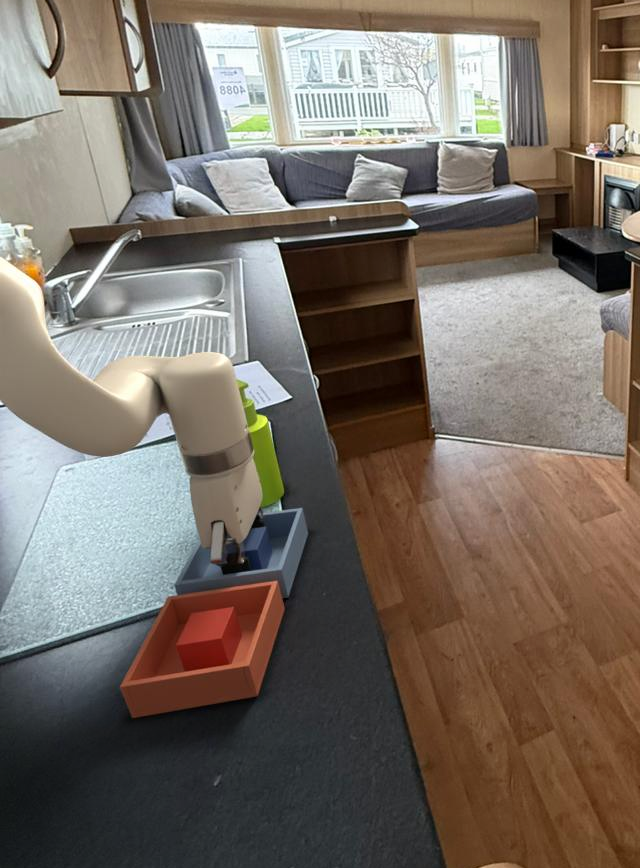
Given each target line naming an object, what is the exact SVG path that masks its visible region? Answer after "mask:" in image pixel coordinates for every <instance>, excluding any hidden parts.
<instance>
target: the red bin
mask: <svg viewBox="0 0 640 868" xmlns="http://www.w3.org/2000/svg"><path fill="white" fill-rule="evenodd" d="M230 607H234V610H235V613H236V617H237V620H238V623H239V627H240V630H241V634H242V637H241V640H240V642H239V645H238V648H237V650H236V653H235V656H234V659H233V661H232V664H230V665H224V666H218V667H212V668H206V669H200V670H194V671H188V672H185V670H184V667H183V664H182V661H181V659H180V656H179V653H178V650H177V647H176V645H177V642H178V640H179V638H180V636H181V634H182V632H183V630H184V628H185V626H186V624H187V621H188V619H189V617H190V615H191V613H197V612H203V611H210V610H217V609H223V608H230ZM285 610H286V608H285V605H284V601H283V598H282V596H281V592H280V588H279V584H278V581H273V582H265V583H258V584H251V585H244V586H237V587H230V588H224V589H217V590H210V591H203V592H196V593H189V594H182V595H177V594H176V595H170V596H167V597H166V600H165V601H164V603H163V605H162V607H161V609H160V611H159V613H158V614H157V616H156V618H155V619H154V622H153V624H152V626H151V628H150V630H149V631H148V633H147V635H146V637H145V638H144V641H143V643H142V644H141V646H140V647H139V650H138V652H137V654H136V656H135V658H134V660H133V662H132V663H131V665H130V667H129V669H128V671H127V672H126V675H125V676H124V678H123V679H122V682H121V684H120V686H119V689H120V691H121V692H120V693H121V694H122V696H123V697H122V698H123V699H124V701H125V704H126V706H127V709H128V711H129V713H130V716H131V718H132V719H135V718H141V717H147V716H152V715H159V714H165V713H169V712H175V711H182V710H187V709H192V708H199V707H203V706H209V705H215V704H221V703H227V702H232V701H238V700H244V699H249V698H255V697H258V696H259V693H260V689H261V686H262V683H263V680H264V677H265V674H266V670H267V667H268V665H269V661H270V658H271V654H272V651H273V648H274V645H275V642H276V638H277V635H278V631H279V629H280V625H281V623H282V620H283V616H284V612H285Z"/></svg>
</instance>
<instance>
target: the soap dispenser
mask: <svg viewBox="0 0 640 868" xmlns="http://www.w3.org/2000/svg"><path fill="white" fill-rule="evenodd" d="M236 380H237V384H238V388H239V392H240V396H241V400H242V404H243V408H244V412H245V416H246V420H247V425H248V429H249V432H250V436H251V440H252V444H253V448H254V456H253V460H254V463H255V466H256V469H257V472H258V476H259V480H260V484H261V489H262V502H261V505H260V508H261V509H262V508H266V507H268V506H271V505H273V504H274V503H276V502H278V501H279V500H280V499H282V497H283V496H284V494H285V488H284V484H283V480H282V475H281V471H280V467H279V462H278V458H277V454H276V450H275V445H274V441H273V438H272V437H273V436H272V432H271V429H270V424H269V420H268V417H266V415H263V414H259V413H258V414H257V410H256V406H255V401H254V400H253V399H252V398H247V396H246V393H245V390H246V389H248V388H249V387H250V386H249V383H247V382H246V381H243V380H240V379H238V378H236Z"/></svg>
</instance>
